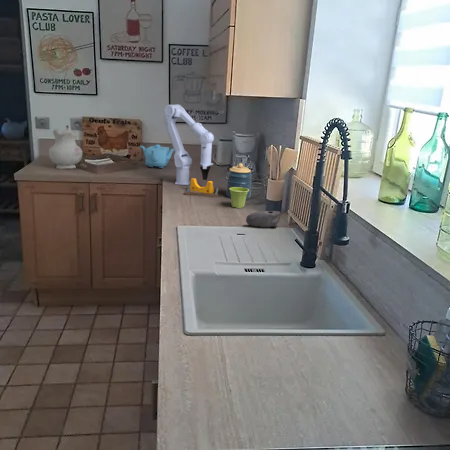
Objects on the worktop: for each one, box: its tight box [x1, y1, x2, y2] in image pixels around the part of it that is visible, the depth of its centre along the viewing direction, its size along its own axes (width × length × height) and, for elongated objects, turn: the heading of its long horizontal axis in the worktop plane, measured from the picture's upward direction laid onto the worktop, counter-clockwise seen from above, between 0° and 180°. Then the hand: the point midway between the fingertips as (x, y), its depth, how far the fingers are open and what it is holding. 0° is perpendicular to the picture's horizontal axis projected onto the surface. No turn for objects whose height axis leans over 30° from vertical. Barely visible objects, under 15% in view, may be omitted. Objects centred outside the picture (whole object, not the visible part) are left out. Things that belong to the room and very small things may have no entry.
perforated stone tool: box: [245, 210, 282, 228], centre depth 197 cm, size 15×5×7 cm, turn 94°
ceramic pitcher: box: [48, 124, 83, 170], centre depth 285 cm, size 22×20×25 cm
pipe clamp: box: [189, 177, 215, 194], centre depth 250 cm, size 12×4×6 cm, turn 65°
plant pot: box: [229, 187, 249, 209], centre depth 224 cm, size 9×9×9 cm
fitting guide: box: [184, 184, 219, 198], centre depth 248 cm, size 16×17×2 cm
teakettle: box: [139, 144, 175, 169], centre depth 304 cm, size 19×19×15 cm
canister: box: [225, 162, 253, 200], centre depth 242 cm, size 13×13×18 cm
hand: (204, 179), depth 258 cm, fingers closed
